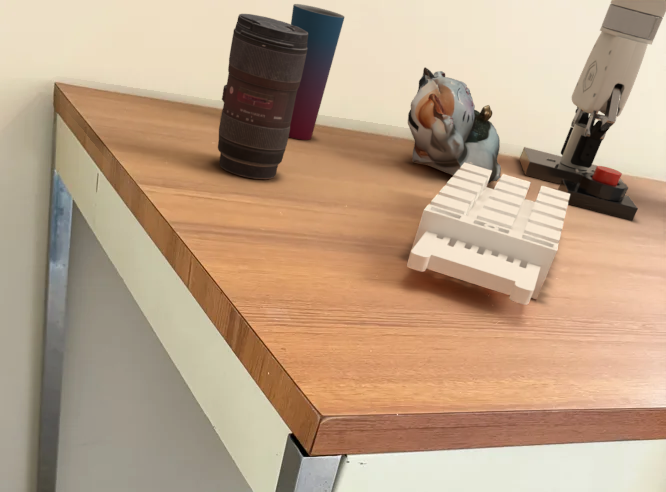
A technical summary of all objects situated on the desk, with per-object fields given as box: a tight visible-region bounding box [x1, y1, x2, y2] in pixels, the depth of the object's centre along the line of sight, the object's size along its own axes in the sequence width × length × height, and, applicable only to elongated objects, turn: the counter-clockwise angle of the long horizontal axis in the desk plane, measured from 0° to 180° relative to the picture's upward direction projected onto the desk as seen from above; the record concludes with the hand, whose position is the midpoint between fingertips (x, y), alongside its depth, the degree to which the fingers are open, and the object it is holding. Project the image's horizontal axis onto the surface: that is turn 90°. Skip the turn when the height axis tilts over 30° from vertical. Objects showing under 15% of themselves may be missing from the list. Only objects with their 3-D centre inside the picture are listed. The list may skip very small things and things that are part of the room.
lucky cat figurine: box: [407, 67, 502, 186], centre depth 113 cm, size 15×12×14 cm
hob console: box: [519, 146, 625, 185], centre depth 129 cm, size 15×11×2 cm
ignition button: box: [592, 165, 623, 185], centre depth 116 cm, size 4×4×2 cm
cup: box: [288, 3, 345, 141], centre depth 111 cm, size 7×7×15 cm
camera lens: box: [217, 13, 308, 180], centre depth 91 cm, size 8×8×15 cm
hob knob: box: [560, 123, 588, 170], centre depth 126 cm, size 4×4×6 cm
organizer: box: [406, 162, 570, 306], centre depth 87 cm, size 13×5×35 cm
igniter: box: [557, 172, 639, 222], centre depth 117 cm, size 10×7×4 cm
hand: (575, 159), depth 128 cm, fingers closed on hob knob, 4 cm apart
